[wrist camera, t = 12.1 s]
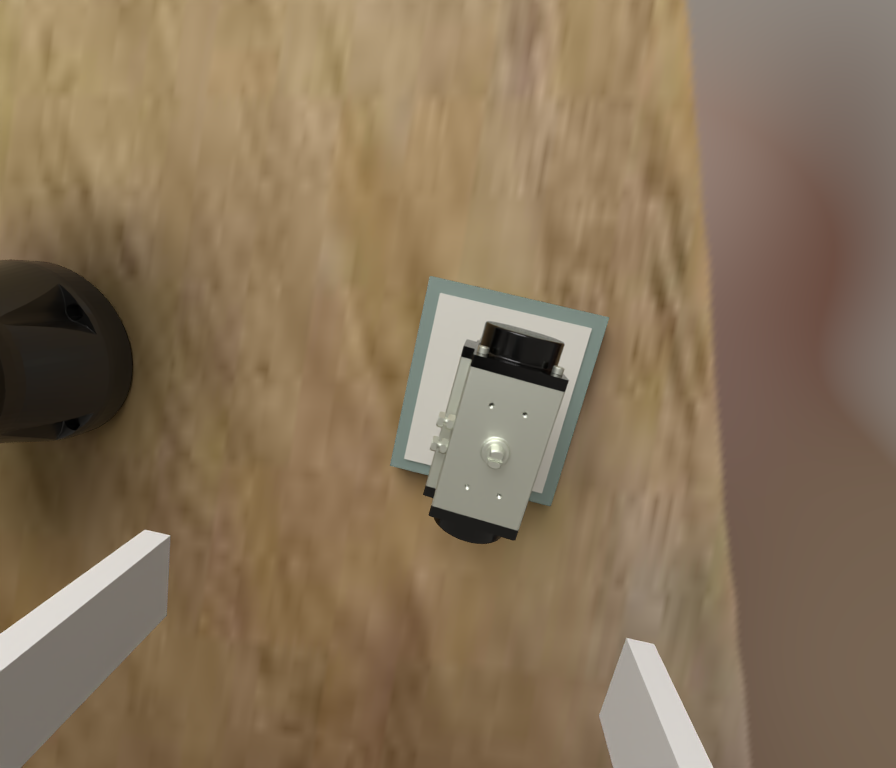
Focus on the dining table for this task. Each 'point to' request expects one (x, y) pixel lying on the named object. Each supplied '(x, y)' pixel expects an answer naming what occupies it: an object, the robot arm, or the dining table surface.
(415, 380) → the stand
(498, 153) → the dining table surface
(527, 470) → the pneumatic valve
